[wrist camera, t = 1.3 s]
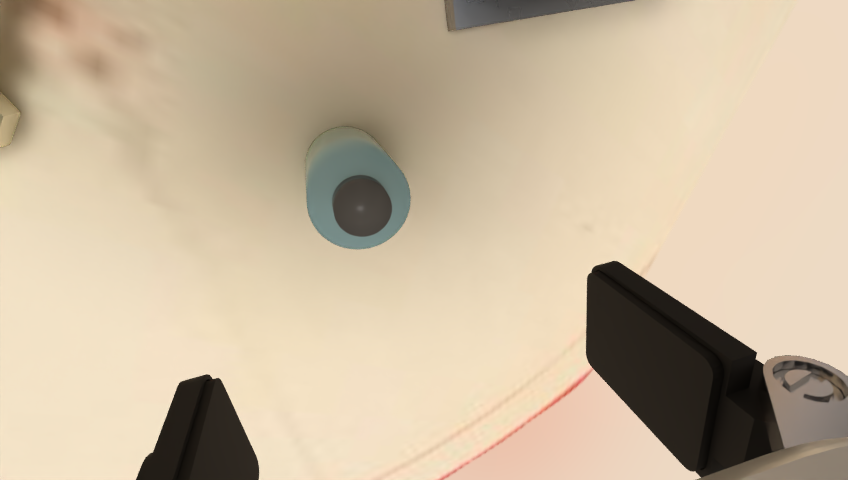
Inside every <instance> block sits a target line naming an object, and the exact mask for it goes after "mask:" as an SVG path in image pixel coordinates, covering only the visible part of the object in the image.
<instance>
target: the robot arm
mask: <svg viewBox="0 0 848 480" xmlns="http://www.w3.org/2000/svg"><path fill="white" fill-rule="evenodd" d="M756 354H757V352H755V351H754V350H752V349H751V348H749V347H748V346H746V345H745V344H743V343H742V342H740V341H738V340H737V339H736V338H734V337H732V336H731V335H729V334H728V333H726V332H724V331H723V330H722V329H720V328H719V327H717V326H716V325H714V324H713V323H711V322H709V321H708V320H706V319H705V318H703V317H702V316H700V315H699V314H697V313H696V312H694V311H693V310H691V309H690V308H688V307H687V306H685V305H684V304H682V303H681V302H679V301H678V300H676V299H674V298H673V297H671V296H670V295H668V294H667V293H665V292H664V291H662V290H661V289H659V288H658V287H656V286H655V285H653V284H652V283H650V282H649V281H647V280H645V279H644V278H642V277H641V276H639V275H638V274H636V273H635V272H633V271H632V270H630V269H629V268H627V267H626V266H624V265H623V264H621V263H620V262H617V261H612V262H608V263H605V264H601V265H598V266H595V267H594V268H593V269H592V273H590V274H589V275H588V277H587V326H586V356H587V359H588V362H589V363H590V365H591V366H592V368H593V369H594V370H595V371H596V372H597V373H598V374H599V375H600V376H601V377H602V379H603V380H605V382H607V384H608V385H609V386H610V387H611V388H612V389H613V390H614V391H615V393H616V394H617V395H618V396H619V397H620V398H621V399H622V400H623V401H624V402H625V403H626V404H627V405H628V407H630V409H631V410H632V411H633V412H634V413H635V414H636V415H637V416H638V417H639V418H640V419H641V421H642V422H643V423H644V424H645V425H646V426H647V427H648V428H649V429H650V430H651V431H652V432H653V433H654V435H655V436H656V437H657V438H658V439H659V440H660V441H661V442H662V443H663V444H664V445H665V446H666V447H667V449H668V450H669V451H670V452H671V453H672V454H673V455H674V456H675V457H676V458H677V459H678V460H679V462H680V463H681V464H682V465H683V466H684V467H685V468H686V469H688V470H690V471H696V473H697V474H698V475H699V476H700V477H701V478H699V479H697V480H848V376H846V375H845V374H844V373H843V372H841V371H839V370H838V369H835V368H834V367H832V366H830V365H828V364H825V363H823V362H820V361H817V360H815V359H811V358H806V357H801V356H791V355H785V356H777V357H774V358H771V359H769V360H767V362H766V363H765V364H762V363H761V362H759V361H757V360H756ZM258 479H259V465H258V460H257V457H256V455H255V453H254V451H253V448H252V446H251V444H250V442H249V440H248V437H247V435H246V433H245V431H244V429H243V427H242V424H241V422H240V420H239V418H238V416H237V413H236V411H235V409H234V407H233V405H232V403H231V400H230V398H229V396H228V394H227V392H226V389H225V387H224V385H223V383H222V381H221V380H220V379H219V378H216V379H212V377H211V376H210V375H207V374H206V375H203V376H199V377H196V378H192V379H189V380H185V381H182V382H180V383H179V385H178V387H177V390H176V392H175V395H174V398H173V400H172V403H171V406H170V408H169V411H168V414H167V416H166V419H165V422H164V425H163V427H162V430H161V433H160V435H159V438H158V441H157V443H156V446H155V449H154V451H153V453H150V454H149V455H148V456H147V457H146V458H145V460H144V462H143V464H142V466H141V468H140V471H139V473H138V476H137V479H136V480H258Z"/></svg>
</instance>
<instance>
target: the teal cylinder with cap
mask: <svg viewBox="0 0 848 480" xmlns="http://www.w3.org/2000/svg"><path fill="white" fill-rule="evenodd" d="M305 172H306V193H307V208H308V213H309V216H310V219H311V221H312V223H313V225H314V227H315V228H316V229H317V231H318V232H319V233H320V234H321V235H322V236H323V237H324V238H326V239H327V240H328V241H330V242H332V243H333V244H336V245H338V246H341V247H344V248H349V249H366V248H371V247H374V246H377V245H379V244H382V243H384V242H385V241H387V240H389V239H390V238H391V237H392V236H394V235H395V234H396V233H397V232H398V230H399V229H400V228H401V227H402V225H403V223H404V222H405V220H406V217H407V215H408V212H409V208H410V190H409V185H408V183H407V180H406V178H405V176H404V174H403V173H402V171H401V170H400V169H399V167H398V166H397V165H396V164H395V163H394V162H393V160H392V159H391V158H390V157H389V156H388V155H387V153H386V152H385V151H384V150H383V149H382V147H381V146H380V145H379V144H378V143H377V142H376V140H375V139H374V138H373V137H371V136H370V135H369V134H368V133H366V132H364V131H362V130H360V129H357V128H353V127H336V128H333V129H330V130H328V131H326V132H324V133H322V134H321V135H320V136H318V137H317V138H316V139H315V140H314V142H313V143H312V144H311V146H310V148H309V150H308V152H307V155H306V161H305Z"/></svg>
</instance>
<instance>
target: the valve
mask: <svg viewBox="0 0 848 480" xmlns="http://www.w3.org/2000/svg"><path fill="white" fill-rule="evenodd" d="M0 5H1V4H0ZM20 114H21V113H20V111H19V110H18V109H17V108H16V107H15V106H14V105H13V104H12V103H11V102H10V101H9V100H8V99H7V98H6V97H5V96H4V95H3V94H2V93H1V92H0V147H4V146H7V145H10V143H11V141H12V138H13V135H14V132H15V129H16V126H17V124H18V121H19V118H20Z"/></svg>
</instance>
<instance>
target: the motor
mask: <svg viewBox="0 0 848 480" xmlns="http://www.w3.org/2000/svg"><path fill="white" fill-rule="evenodd" d="M627 1H633V0H445V6H446V15H447V24H448V31H452V30H459V29H465V28H471V27H477V26H483V25H489V24H495V23H501V22H507V21H513V20H519V19H525V18H531V17H537V16H543V15H549V14H555V13H561V12H567V11H573V10H579V9H585V8H591V7H597V6H603V5H609V4H615V3H621V2H627Z"/></svg>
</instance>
